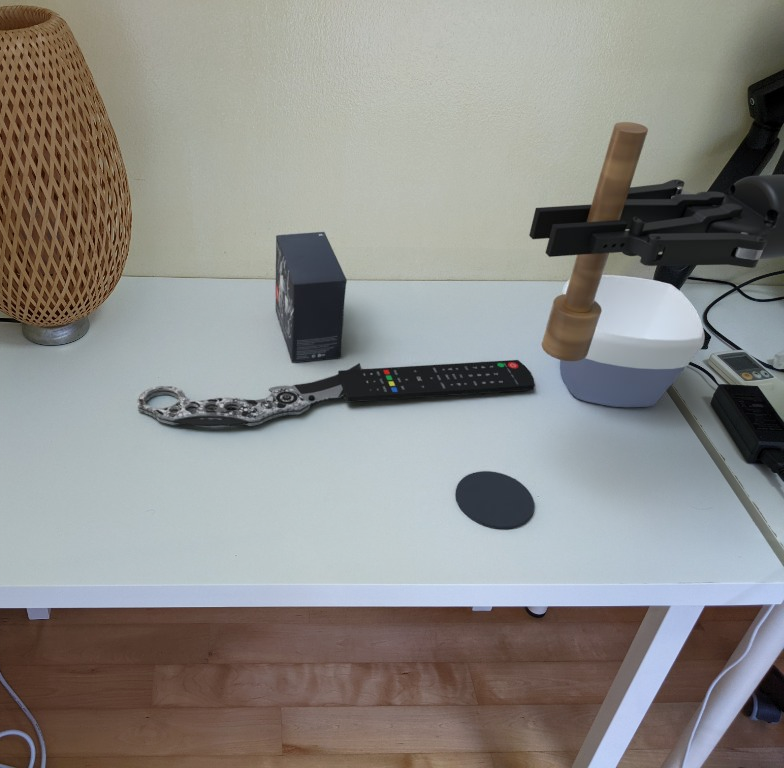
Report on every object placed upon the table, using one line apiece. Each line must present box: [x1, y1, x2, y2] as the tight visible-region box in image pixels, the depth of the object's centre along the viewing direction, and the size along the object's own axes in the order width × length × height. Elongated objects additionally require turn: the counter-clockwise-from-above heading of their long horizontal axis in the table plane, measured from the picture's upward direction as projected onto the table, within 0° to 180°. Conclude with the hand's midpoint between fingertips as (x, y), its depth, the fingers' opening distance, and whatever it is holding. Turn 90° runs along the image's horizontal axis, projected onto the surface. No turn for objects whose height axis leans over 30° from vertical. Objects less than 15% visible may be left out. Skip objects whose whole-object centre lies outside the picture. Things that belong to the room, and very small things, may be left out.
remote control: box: [337, 359, 536, 403], centre depth 95 cm, size 5×24×1 cm, turn 98°
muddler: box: [541, 121, 649, 361], centre depth 70 cm, size 4×4×22 cm
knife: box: [136, 362, 362, 427], centre depth 93 cm, size 28×2×10 cm
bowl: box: [559, 274, 706, 408], centre depth 94 cm, size 15×15×11 cm
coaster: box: [454, 470, 535, 530], centre depth 81 cm, size 8×8×1 cm
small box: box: [274, 231, 348, 363], centre depth 101 cm, size 13×7×12 cm, turn 10°
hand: (543, 232), depth 68 cm, fingers closed on muddler, 3 cm apart
